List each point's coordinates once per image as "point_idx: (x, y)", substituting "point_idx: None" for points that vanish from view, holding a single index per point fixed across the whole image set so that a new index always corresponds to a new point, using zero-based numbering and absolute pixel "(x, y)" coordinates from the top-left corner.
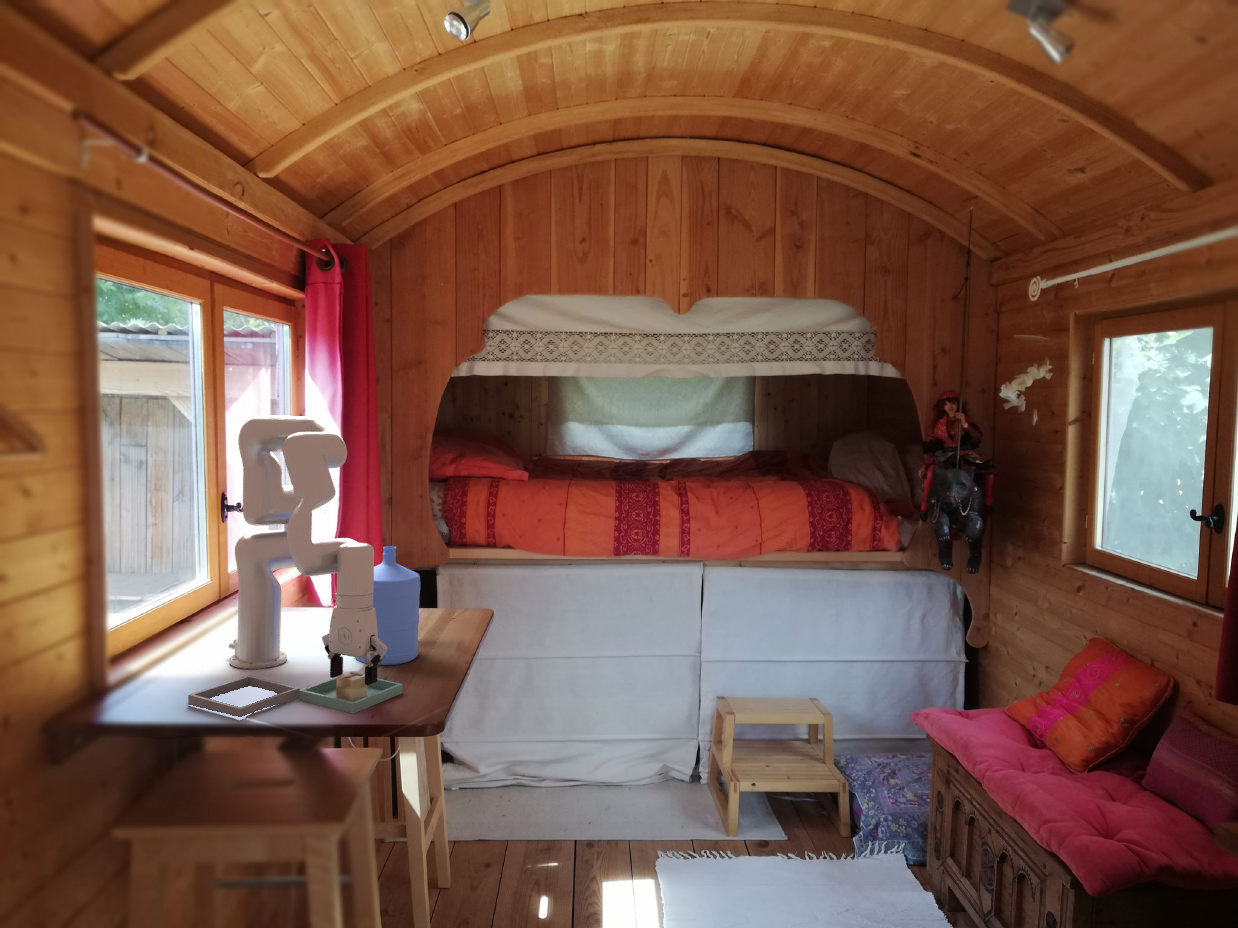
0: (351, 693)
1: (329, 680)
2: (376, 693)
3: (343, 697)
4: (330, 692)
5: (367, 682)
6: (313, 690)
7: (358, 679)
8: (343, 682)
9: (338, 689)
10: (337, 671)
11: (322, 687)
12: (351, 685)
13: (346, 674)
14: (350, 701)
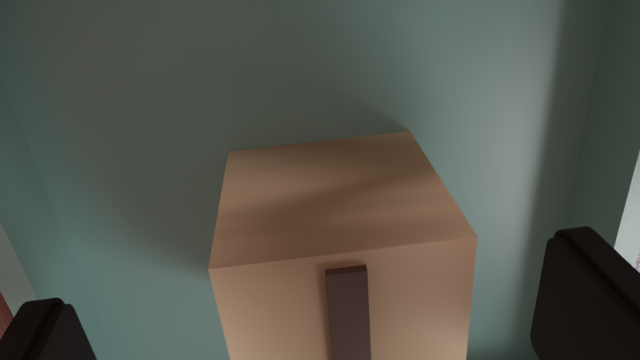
0: (234, 182)
1: (621, 248)
2: (23, 292)
3: (328, 145)
4: (524, 170)
5: (14, 324)
6: (635, 43)
7: (228, 331)
8: (351, 218)
9: (401, 166)
10: (567, 322)
11: (608, 150)
12: (231, 226)
13: (432, 334)
14: (234, 139)
